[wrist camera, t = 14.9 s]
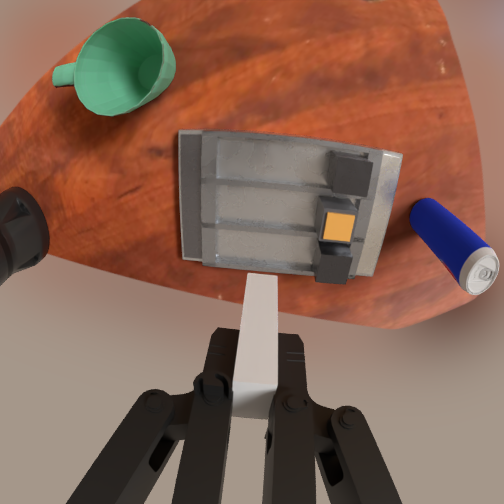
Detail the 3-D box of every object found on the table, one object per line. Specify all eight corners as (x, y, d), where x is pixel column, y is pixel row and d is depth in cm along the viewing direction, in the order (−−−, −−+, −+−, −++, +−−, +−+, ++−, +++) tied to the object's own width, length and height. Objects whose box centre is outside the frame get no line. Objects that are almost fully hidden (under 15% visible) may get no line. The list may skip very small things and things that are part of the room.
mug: (200, 34, 25) (171, 10, 16) (191, 111, 30) (158, 115, 21) (95, 45, 25) (46, 38, 16) (89, 113, 30) (39, 123, 21)
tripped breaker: (314, 225, 34) (318, 241, 30) (319, 195, 32) (324, 208, 28) (344, 228, 34) (352, 245, 30) (350, 199, 32) (359, 213, 28)
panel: (185, 253, 39) (173, 275, 34) (182, 128, 31) (166, 134, 26) (369, 270, 38) (380, 294, 33) (398, 152, 30) (417, 161, 25)
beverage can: (403, 228, 35) (455, 296, 22) (413, 193, 32) (477, 248, 19) (432, 233, 35) (487, 298, 22) (443, 200, 32) (507, 255, 19)
